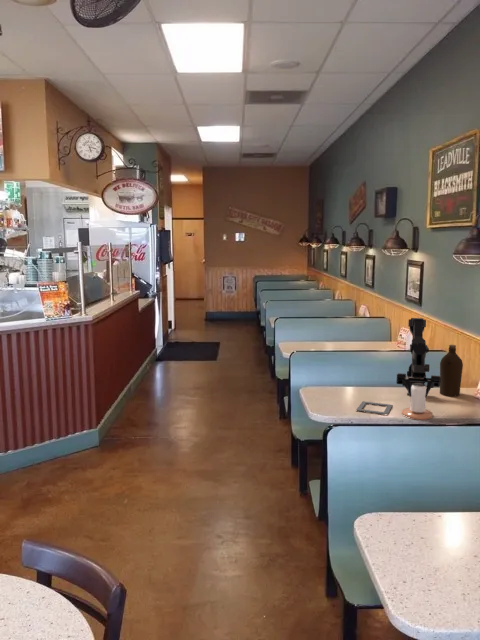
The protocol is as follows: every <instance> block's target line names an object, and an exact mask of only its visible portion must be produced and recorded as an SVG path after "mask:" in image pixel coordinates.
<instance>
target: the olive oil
mask: <svg viewBox="0 0 480 640" xmlns="http://www.w3.org/2000/svg"><path fill="white" fill-rule="evenodd" d="M463 366H464V363H463V360H462V358H461V357H460V356H459V355H458V354H457V345H456V344H449V345H448V351H447V353H446V354H445V355H444V356H443V357H442V358H441V360H440V361H439V376H440V377H441V382H440V386H439V394H440V395H442V396H446V397H459V396H460V394H461V385H462V376H463V375H462V374H463V369H464V367H463Z"/></svg>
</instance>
